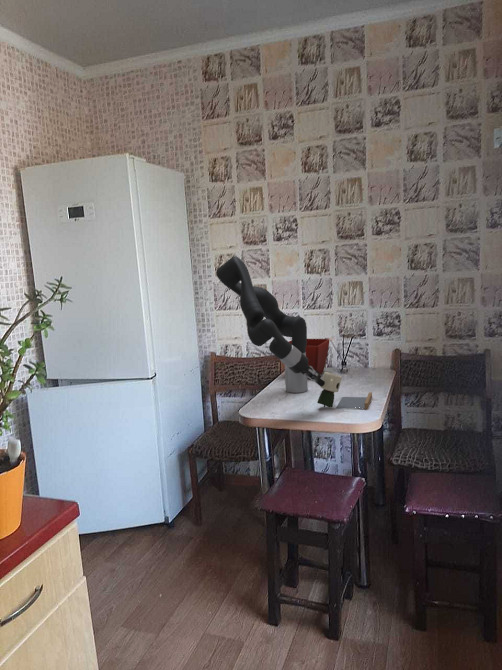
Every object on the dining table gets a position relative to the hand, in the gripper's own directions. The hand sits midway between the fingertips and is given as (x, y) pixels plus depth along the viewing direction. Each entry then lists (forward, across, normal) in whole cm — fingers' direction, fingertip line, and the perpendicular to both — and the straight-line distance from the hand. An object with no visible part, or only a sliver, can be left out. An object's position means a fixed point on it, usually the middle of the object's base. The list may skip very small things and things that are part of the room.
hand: (322, 384), depth 207 cm
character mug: (+7, 0, -6) cm, 9 cm away
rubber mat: (+17, 0, +2) cm, 17 cm away
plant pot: (+27, -54, +10) cm, 62 cm away
